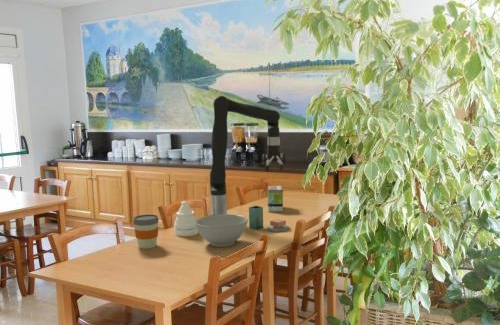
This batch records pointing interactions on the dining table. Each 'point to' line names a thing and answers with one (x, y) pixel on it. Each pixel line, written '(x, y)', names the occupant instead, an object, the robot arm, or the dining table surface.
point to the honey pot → (185, 221)
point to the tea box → (275, 199)
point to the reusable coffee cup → (146, 230)
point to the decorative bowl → (221, 228)
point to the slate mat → (285, 228)
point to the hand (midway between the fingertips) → (273, 171)
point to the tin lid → (278, 223)
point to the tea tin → (256, 217)
